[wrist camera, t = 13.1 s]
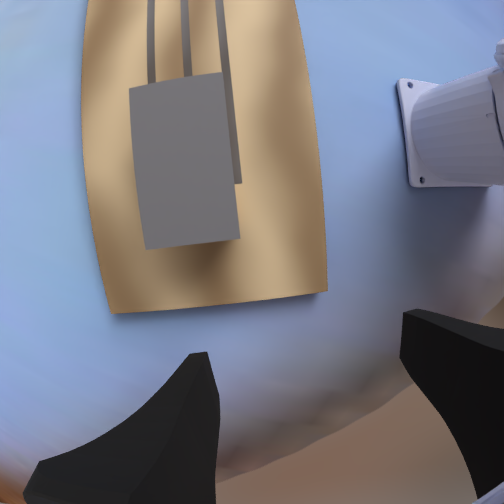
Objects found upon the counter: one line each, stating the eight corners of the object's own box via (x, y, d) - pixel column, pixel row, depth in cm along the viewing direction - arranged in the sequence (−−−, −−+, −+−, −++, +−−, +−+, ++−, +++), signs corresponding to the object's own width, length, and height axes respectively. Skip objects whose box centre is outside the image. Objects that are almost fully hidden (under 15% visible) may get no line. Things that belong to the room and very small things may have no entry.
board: (277, -48, 14) (279, -59, 12) (321, 283, 20) (327, 291, 18) (100, -20, 13) (94, -29, 12) (118, 305, 19) (110, 314, 18)
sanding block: (225, 102, 16) (222, 72, 11) (238, 222, 17) (240, 238, 12) (156, 112, 15) (129, 88, 11) (169, 231, 17) (145, 250, 12)
